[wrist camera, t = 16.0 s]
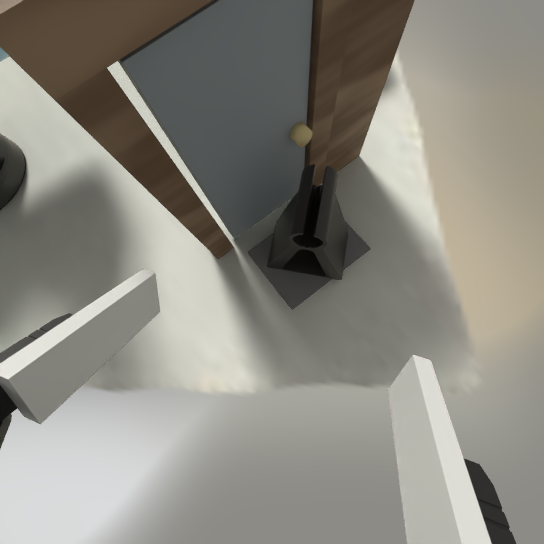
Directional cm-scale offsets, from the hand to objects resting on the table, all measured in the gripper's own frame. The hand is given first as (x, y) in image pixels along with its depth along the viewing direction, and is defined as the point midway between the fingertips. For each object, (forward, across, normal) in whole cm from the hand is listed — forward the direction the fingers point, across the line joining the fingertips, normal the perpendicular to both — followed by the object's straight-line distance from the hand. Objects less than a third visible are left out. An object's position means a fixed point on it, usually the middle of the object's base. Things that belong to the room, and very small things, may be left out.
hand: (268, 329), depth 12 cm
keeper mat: (+19, 0, -4) cm, 19 cm away
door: (+21, -6, -1) cm, 22 cm away
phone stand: (+19, 0, -4) cm, 19 cm away
